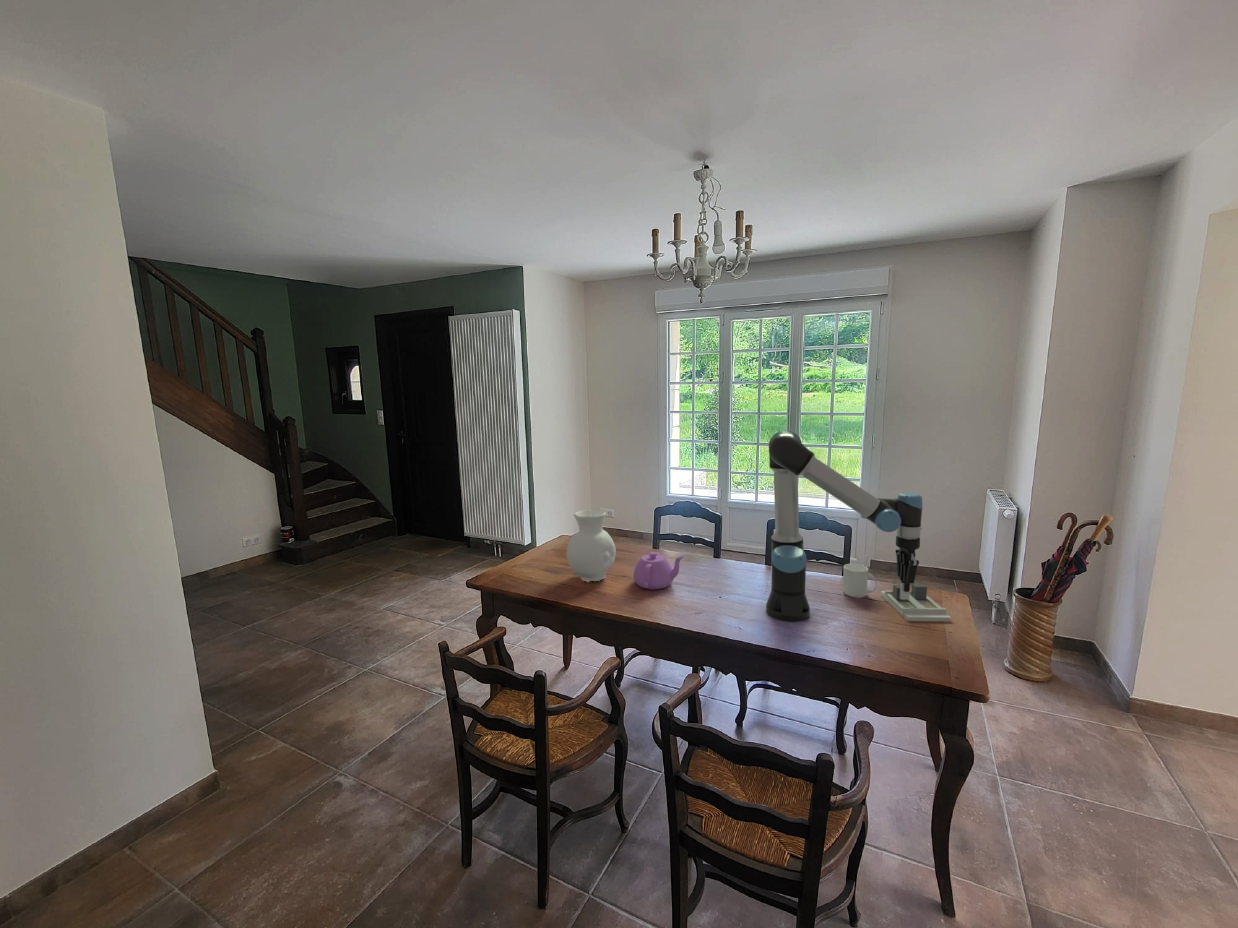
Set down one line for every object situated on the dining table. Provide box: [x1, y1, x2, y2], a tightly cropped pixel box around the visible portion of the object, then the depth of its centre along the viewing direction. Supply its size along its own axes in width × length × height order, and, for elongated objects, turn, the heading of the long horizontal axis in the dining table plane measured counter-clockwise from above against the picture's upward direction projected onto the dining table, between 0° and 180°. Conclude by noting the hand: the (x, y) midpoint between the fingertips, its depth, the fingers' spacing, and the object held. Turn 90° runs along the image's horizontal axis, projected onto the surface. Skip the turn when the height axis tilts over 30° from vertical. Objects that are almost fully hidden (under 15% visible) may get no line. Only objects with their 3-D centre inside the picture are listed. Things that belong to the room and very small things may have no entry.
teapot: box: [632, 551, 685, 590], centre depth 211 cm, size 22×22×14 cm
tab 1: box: [892, 584, 908, 601], centre depth 186 cm, size 4×3×5 cm
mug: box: [842, 563, 878, 599], centre depth 195 cm, size 9×12×11 cm
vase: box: [566, 509, 617, 582], centre depth 218 cm, size 19×21×30 cm
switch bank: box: [880, 589, 952, 623], centre depth 183 cm, size 14×22×3 cm, turn 175°
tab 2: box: [910, 583, 928, 600], centre depth 186 cm, size 4×3×5 cm
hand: (904, 598), depth 183 cm, fingers closed
